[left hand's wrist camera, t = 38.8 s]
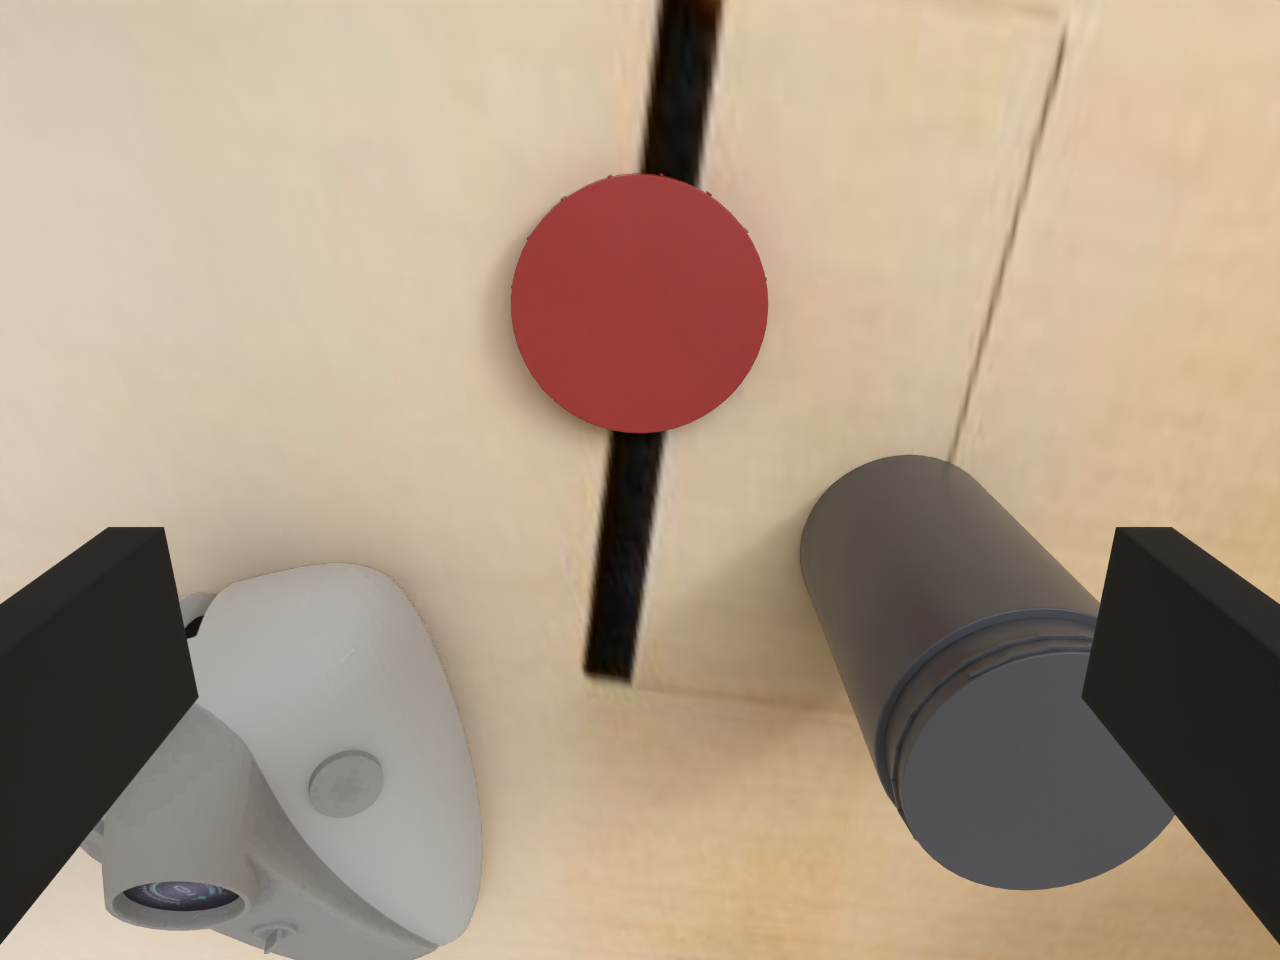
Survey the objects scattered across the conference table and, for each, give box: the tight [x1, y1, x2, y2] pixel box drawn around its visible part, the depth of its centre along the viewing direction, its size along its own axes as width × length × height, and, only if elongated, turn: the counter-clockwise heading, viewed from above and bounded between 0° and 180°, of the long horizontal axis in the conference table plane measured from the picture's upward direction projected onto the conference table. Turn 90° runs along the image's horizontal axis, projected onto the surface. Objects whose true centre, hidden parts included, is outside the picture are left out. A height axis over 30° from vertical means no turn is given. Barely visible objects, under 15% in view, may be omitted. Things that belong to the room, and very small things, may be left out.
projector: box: [80, 563, 482, 960], centre depth 39 cm, size 22×23×15 cm
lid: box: [511, 173, 768, 433], centre depth 37 cm, size 10×10×2 cm
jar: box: [800, 455, 1175, 890], centre depth 34 cm, size 9×9×16 cm
